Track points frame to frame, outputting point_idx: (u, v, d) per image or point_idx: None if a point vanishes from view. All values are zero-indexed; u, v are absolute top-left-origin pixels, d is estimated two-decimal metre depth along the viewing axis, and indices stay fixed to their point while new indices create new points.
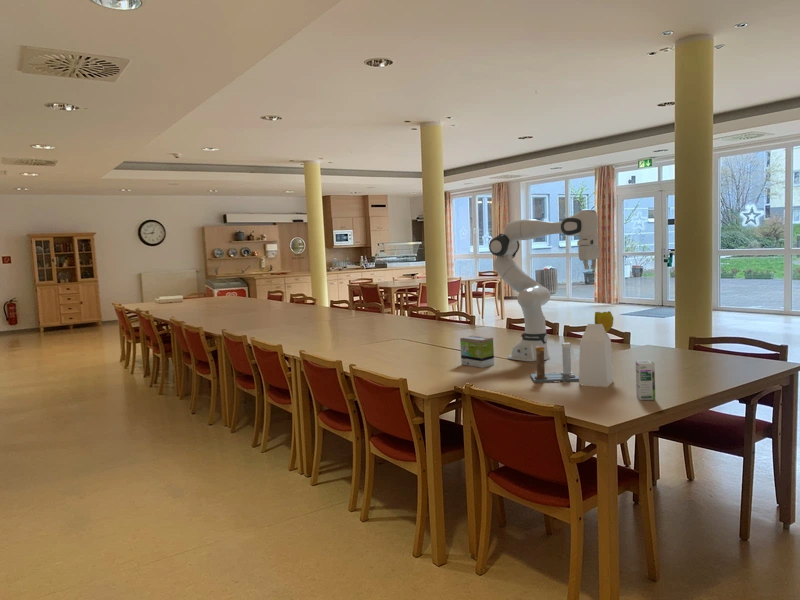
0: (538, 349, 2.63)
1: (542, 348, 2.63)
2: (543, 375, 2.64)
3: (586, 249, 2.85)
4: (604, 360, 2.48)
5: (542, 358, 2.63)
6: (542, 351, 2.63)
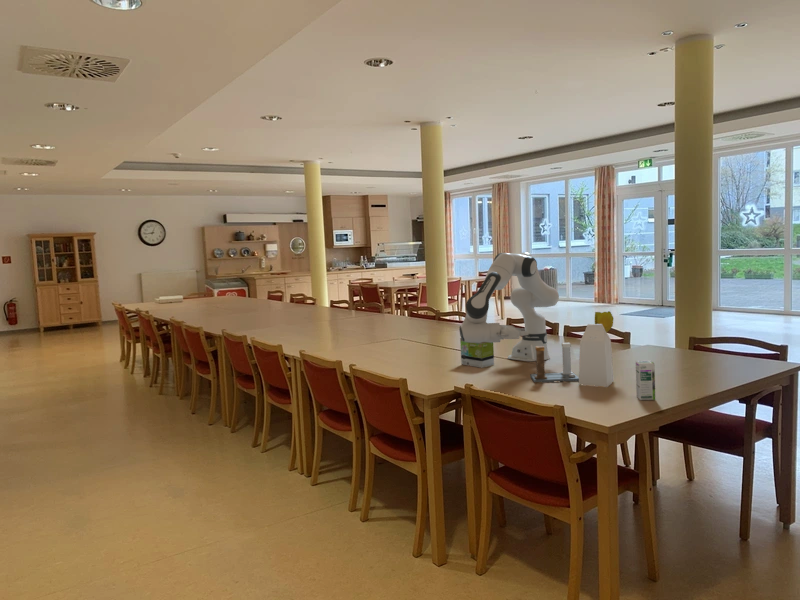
0: (538, 349, 2.63)
1: (542, 348, 2.63)
2: (543, 375, 2.64)
3: None
4: (604, 360, 2.48)
5: (542, 358, 2.63)
6: (542, 351, 2.63)
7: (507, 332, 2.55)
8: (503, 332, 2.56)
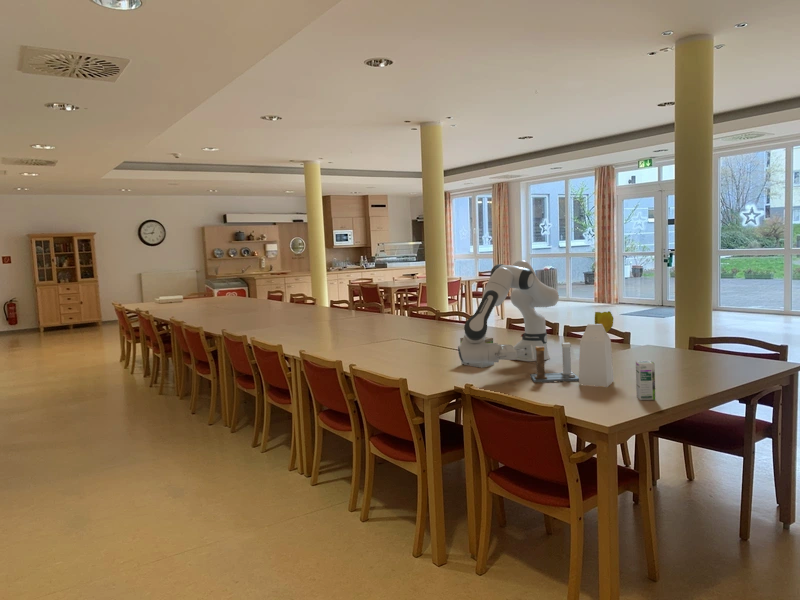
0: (538, 349, 2.63)
1: (542, 348, 2.63)
2: (543, 375, 2.64)
3: None
4: (604, 360, 2.48)
5: (542, 358, 2.63)
6: (542, 351, 2.63)
7: (505, 353, 2.56)
8: (501, 353, 2.57)
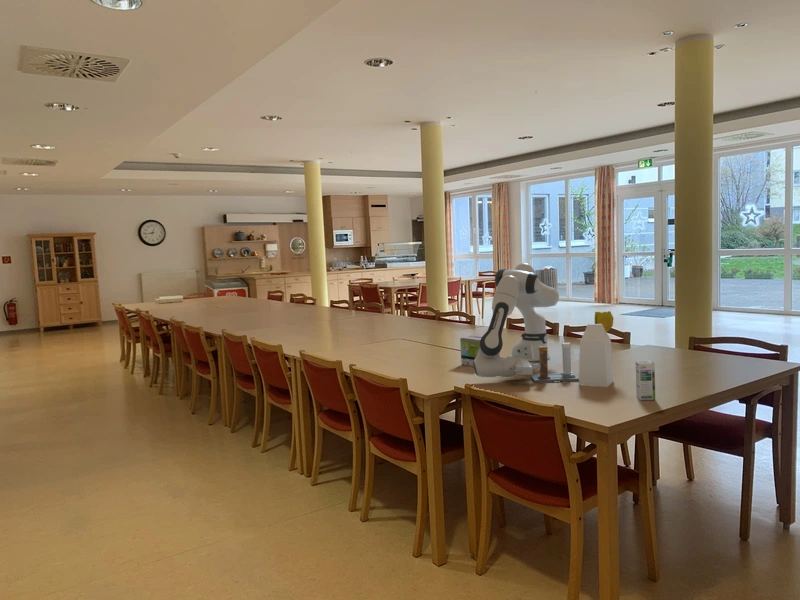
0: (541, 349, 2.63)
1: (545, 348, 2.62)
2: (546, 375, 2.64)
3: None
4: (604, 360, 2.48)
5: (545, 358, 2.63)
6: (545, 351, 2.63)
7: (520, 368, 2.56)
8: (516, 368, 2.57)
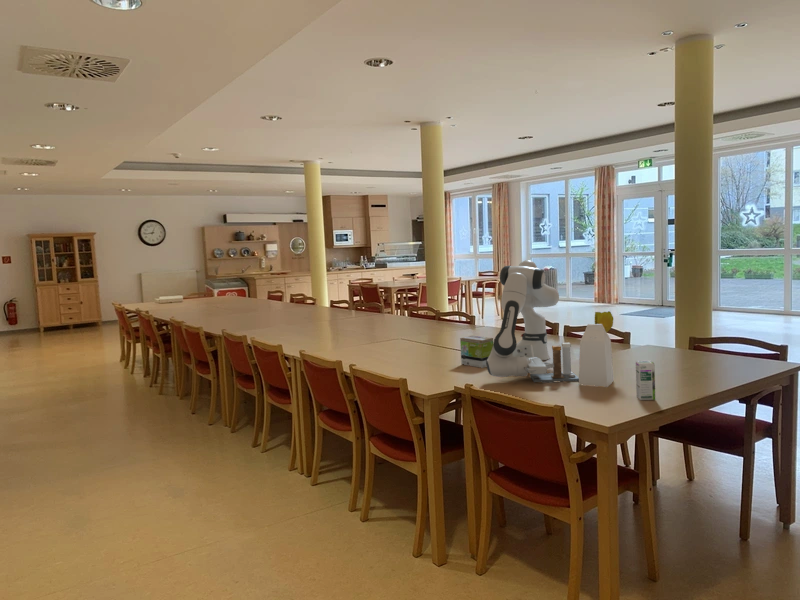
0: (555, 348, 2.62)
1: (559, 347, 2.62)
2: (560, 374, 2.63)
3: None
4: (604, 360, 2.48)
5: (559, 357, 2.63)
6: (559, 350, 2.62)
7: (534, 367, 2.56)
8: (530, 367, 2.57)
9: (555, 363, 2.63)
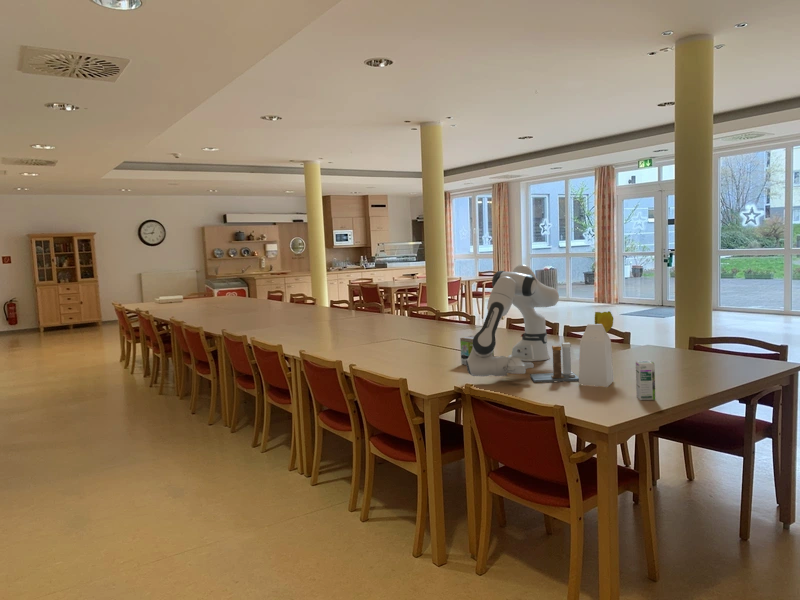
0: (555, 348, 2.62)
1: (559, 347, 2.62)
2: (560, 374, 2.63)
3: None
4: (604, 360, 2.48)
5: (559, 357, 2.63)
6: (559, 350, 2.62)
7: (513, 367, 2.56)
8: (509, 367, 2.57)
9: (555, 363, 2.63)
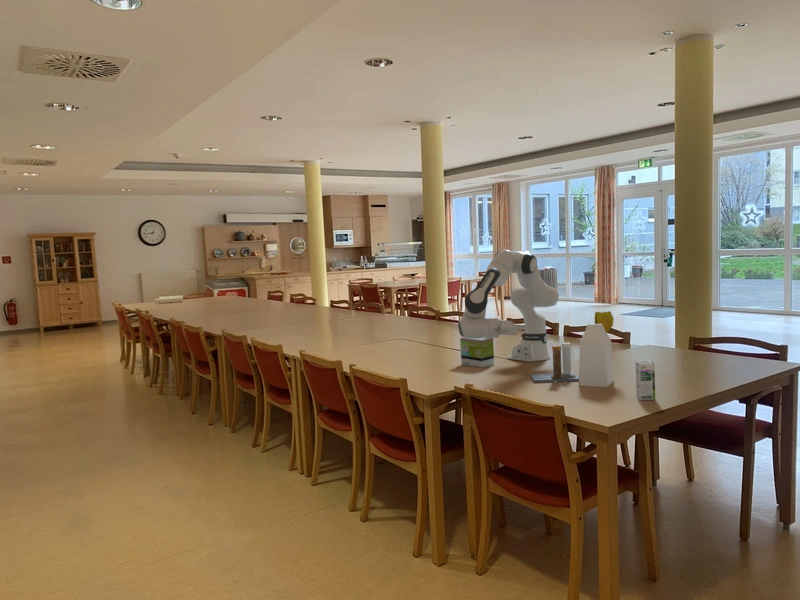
0: (555, 348, 2.62)
1: (559, 347, 2.62)
2: (560, 374, 2.63)
3: None
4: (604, 360, 2.48)
5: (559, 357, 2.63)
6: (559, 350, 2.62)
7: (505, 328, 2.55)
8: (501, 328, 2.56)
9: (555, 363, 2.63)
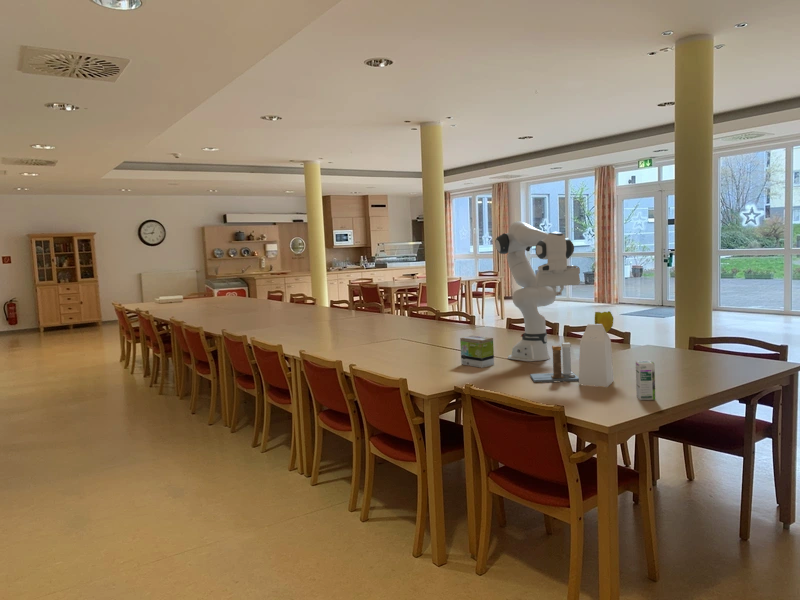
0: (555, 348, 2.62)
1: (559, 347, 2.62)
2: (560, 374, 2.63)
3: (537, 275, 2.75)
4: (604, 360, 2.48)
5: (559, 357, 2.63)
6: (559, 350, 2.62)
7: None
8: None
9: (555, 363, 2.63)
